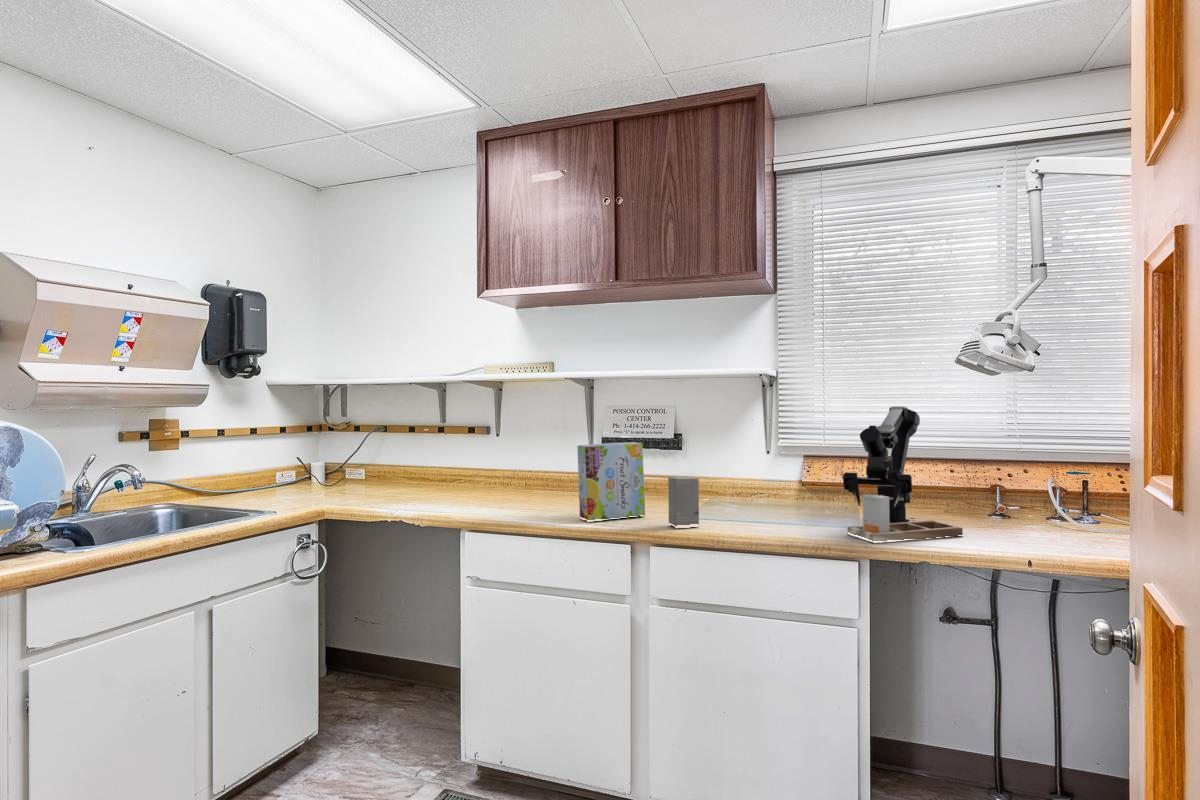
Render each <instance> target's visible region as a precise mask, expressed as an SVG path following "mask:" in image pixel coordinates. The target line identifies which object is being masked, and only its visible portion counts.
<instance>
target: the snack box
mask: <svg viewBox="0 0 1200 800" xmlns="http://www.w3.org/2000/svg"><path fill="white" fill-rule="evenodd" d="M643 445H644V444H643V442H635V441H631V442H630V441H629V442H627V441H626V442H607V443H606V442H605V443H596V444H593V443H592V444H580V445H577V448H576V449H577V471H578V472H577V473H578V474H577V475H578V503H579V504H578V505H579V517H580V516H581V517H582V518H585V519H587V520H595V519H610V518H620V517H629V516H640V515H645V516H646V507H645V506H646V504H645V503H646V502H645V499H646V498H645V476H644V474H645V473H644V452H643V451H644V450H643V449H644V448H643Z"/></svg>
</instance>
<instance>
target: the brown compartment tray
mask: <svg viewBox="0 0 1200 800" xmlns="http://www.w3.org/2000/svg"><path fill="white" fill-rule="evenodd" d="M889 525H890V532H883V533H870V532H867V531H864V530H863V524H862V525H851V526H850V525H849V526H847V527H846V528H847V533H848V532H849V533H851V534H854V535H858V536H861V537H864V538H867V539H869V540H872V541H887V540H904V539H926V538H936V537H945V536H958V535H963V533H964V532H963V527H961V526H957V525H953V524H950V523H949V524H948V523H946V522H941V521H937V520H931V519H929V520H917V521H903V522H889ZM926 540H927V539H926Z"/></svg>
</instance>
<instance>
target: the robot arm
mask: <svg viewBox="0 0 1200 800" xmlns="http://www.w3.org/2000/svg"><path fill="white" fill-rule="evenodd" d="M888 409H889V410H888V413H887V415H886V417H885V418H884V420H883V421H882V423H881V425H878V426H877V425H868V428H865V429H863V430H862V431H861V432H860V433H859V438H860V441H861V443H862V446H863V448H864V451H865V452H866V453H867V458H866V468H865V474H866V477H865V476H858V472H850V471H849V472H844V473H843V474H842V483H843V489H844V490H845V491H848V493H852V495H853V496H854V498H855V500H856V503H857V505H858V506H861V497H860V489H859V485H869V486H875V487H876V488H877V490H876V491H877V495H882V496H887V497H889V523H901V522H910V519H909V518H907V516H906V512H907V510H906V504H910V503H911V498H912V497H911V493H912V492H913V482H912V481H913V477H912V475H910V474H905V472H904V471H905V465H906V460H907V454H908V448H909V445H910V439H911V437H912V436H914V435H915V433H917V430H918V427H919V425H920V423H921V419H920V415H919V414H918V413H917V411H915V410H912V409H909V408H907V407H906V406H901V405H900V406H897V405H895V406H890V407H889V408H888ZM889 449H891V453H890V455H889Z"/></svg>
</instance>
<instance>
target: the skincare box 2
mask: <svg viewBox="0 0 1200 800" xmlns="http://www.w3.org/2000/svg"><path fill="white" fill-rule="evenodd" d="M889 498H890V497H887V496H882V495H878V494H863V495H862V520H863V521H862V525H863V530H864V531H867V532H870V533H883V532H890V525H889V523H890V521H889Z"/></svg>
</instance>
